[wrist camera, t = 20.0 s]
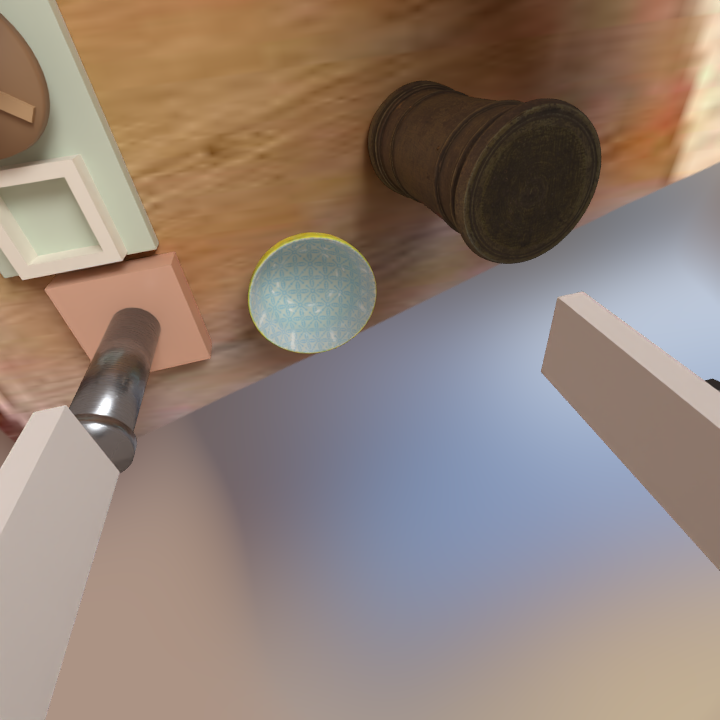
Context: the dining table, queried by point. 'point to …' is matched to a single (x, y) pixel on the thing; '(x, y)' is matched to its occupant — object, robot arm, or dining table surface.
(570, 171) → the container
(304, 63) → the dining table surface
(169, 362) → the rest tile
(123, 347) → the metal flanged cylinder
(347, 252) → the bowl
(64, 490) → the robot arm
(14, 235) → the plate
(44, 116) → the handwheel
